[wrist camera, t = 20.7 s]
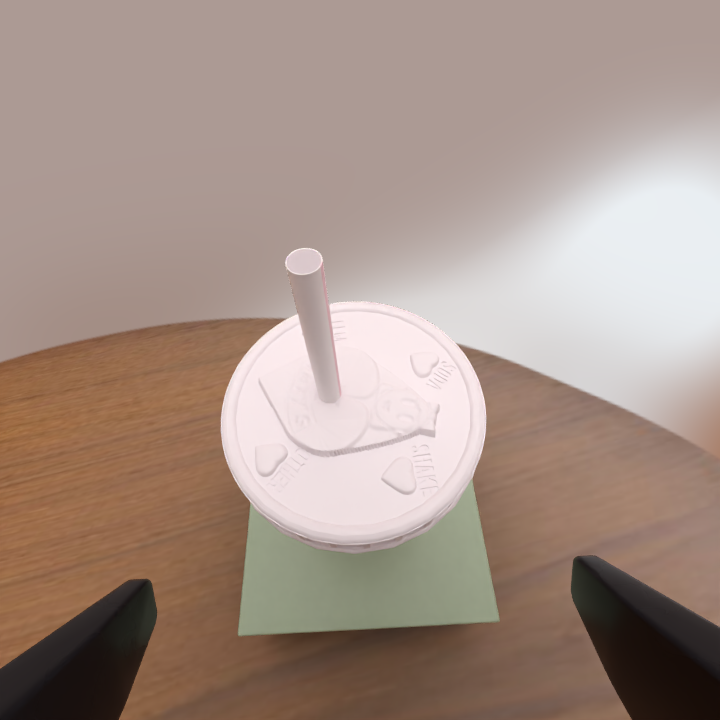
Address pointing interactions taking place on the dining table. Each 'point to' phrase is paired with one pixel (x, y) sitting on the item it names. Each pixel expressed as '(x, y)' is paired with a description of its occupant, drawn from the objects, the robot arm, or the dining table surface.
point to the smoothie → (352, 420)
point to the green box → (368, 580)
